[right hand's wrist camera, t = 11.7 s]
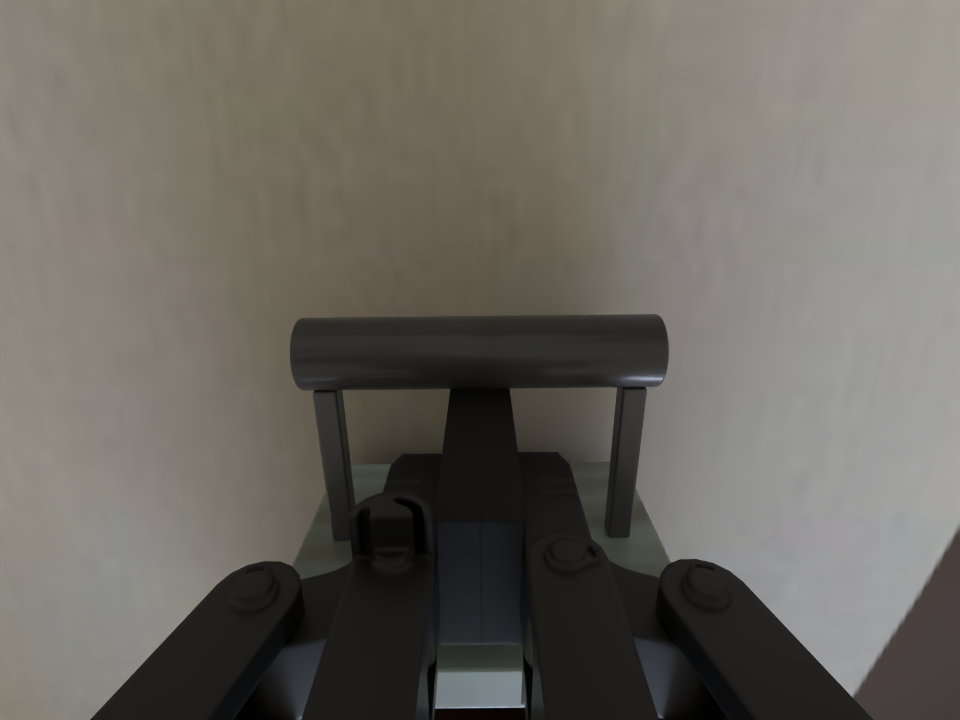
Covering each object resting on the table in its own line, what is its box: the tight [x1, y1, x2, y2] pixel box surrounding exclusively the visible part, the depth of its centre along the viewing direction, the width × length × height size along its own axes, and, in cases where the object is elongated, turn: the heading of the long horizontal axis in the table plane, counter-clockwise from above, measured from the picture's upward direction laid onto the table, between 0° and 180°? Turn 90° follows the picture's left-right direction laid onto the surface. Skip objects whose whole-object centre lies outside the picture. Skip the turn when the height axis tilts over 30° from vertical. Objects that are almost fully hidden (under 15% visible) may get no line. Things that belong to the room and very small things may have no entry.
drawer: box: [290, 314, 671, 720], centre depth 16 cm, size 22×10×8 cm, turn 1°
